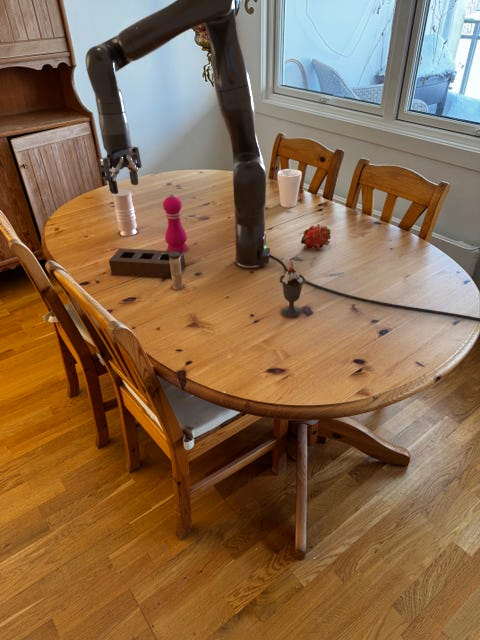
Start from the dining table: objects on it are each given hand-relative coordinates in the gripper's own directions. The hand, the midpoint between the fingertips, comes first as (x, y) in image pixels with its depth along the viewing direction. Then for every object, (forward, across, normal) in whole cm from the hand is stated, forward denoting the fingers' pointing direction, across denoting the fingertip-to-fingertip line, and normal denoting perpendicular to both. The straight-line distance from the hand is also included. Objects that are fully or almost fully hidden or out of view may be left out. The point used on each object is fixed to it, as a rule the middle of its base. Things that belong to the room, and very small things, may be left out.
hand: (125, 188), depth 135 cm
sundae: (+26, -2, -54) cm, 60 cm away
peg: (+25, -5, -20) cm, 32 cm away
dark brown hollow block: (+25, -1, -5) cm, 26 cm away
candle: (+25, +18, +20) cm, 37 cm away
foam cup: (+26, +70, -20) cm, 77 cm away
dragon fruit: (+26, +37, -45) cm, 64 cm away
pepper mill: (+25, +15, -5) cm, 30 cm away
